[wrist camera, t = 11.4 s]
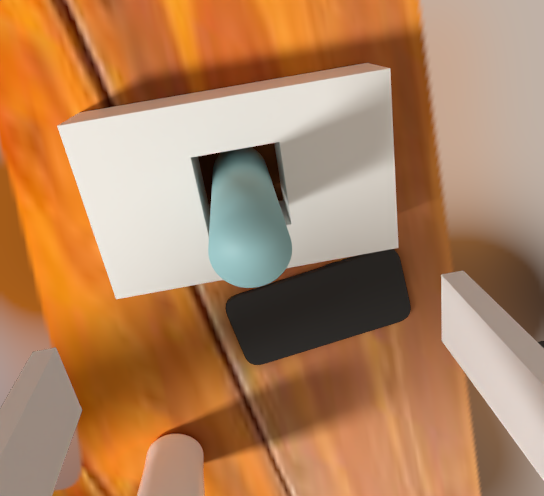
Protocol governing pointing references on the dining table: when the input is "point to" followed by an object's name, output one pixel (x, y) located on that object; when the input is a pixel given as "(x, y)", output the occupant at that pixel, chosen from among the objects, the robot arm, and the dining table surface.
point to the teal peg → (246, 221)
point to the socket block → (231, 136)
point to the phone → (320, 306)
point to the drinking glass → (173, 467)
